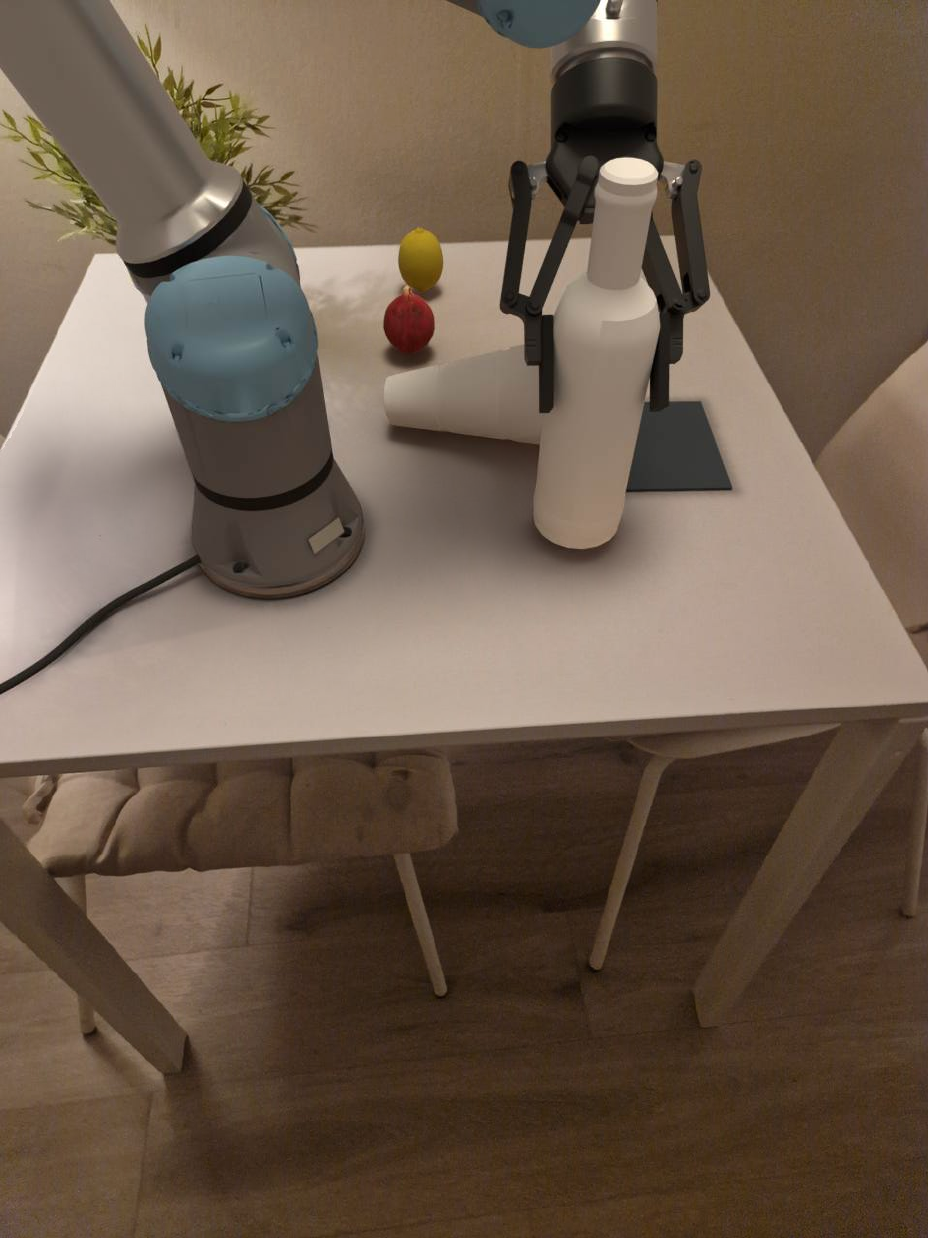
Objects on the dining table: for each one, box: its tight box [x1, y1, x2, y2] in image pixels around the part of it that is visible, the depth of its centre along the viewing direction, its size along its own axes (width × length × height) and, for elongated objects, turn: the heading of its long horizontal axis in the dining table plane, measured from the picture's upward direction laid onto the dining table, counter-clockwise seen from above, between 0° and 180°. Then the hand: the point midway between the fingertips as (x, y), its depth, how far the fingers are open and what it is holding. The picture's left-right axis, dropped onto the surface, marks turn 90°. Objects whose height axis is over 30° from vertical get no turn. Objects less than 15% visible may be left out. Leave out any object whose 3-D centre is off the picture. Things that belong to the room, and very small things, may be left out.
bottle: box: [533, 158, 660, 550], centre depth 61 cm, size 8×8×30 cm
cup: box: [383, 343, 543, 446], centre depth 79 cm, size 11×11×18 cm
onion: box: [382, 284, 436, 355], centre depth 89 cm, size 6×6×8 cm
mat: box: [626, 400, 733, 492], centre depth 82 cm, size 14×14×1 cm
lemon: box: [397, 227, 444, 294], centre depth 98 cm, size 6×6×8 cm
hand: (602, 409), depth 59 cm, fingers closed on bottle, 8 cm apart
